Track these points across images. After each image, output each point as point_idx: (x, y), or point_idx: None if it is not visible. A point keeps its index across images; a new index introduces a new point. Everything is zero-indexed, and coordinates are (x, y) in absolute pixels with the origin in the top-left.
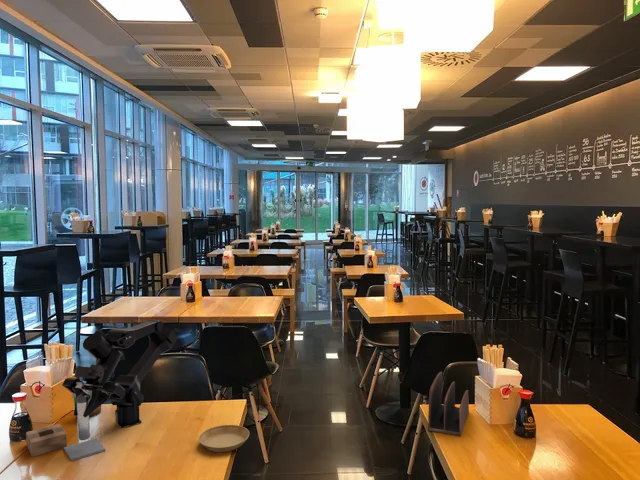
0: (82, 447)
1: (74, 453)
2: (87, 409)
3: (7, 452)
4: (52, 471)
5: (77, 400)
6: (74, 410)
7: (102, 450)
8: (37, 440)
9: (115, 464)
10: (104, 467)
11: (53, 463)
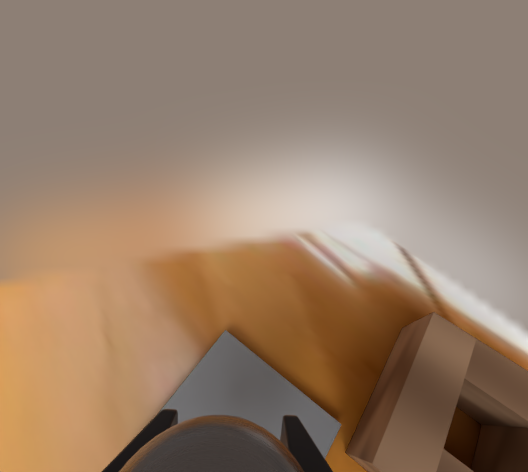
0: None
1: (244, 377)
2: (121, 462)
3: (522, 336)
4: (241, 258)
5: (243, 419)
6: (311, 445)
7: None
8: (434, 339)
9: (19, 349)
10: (61, 317)
11: (280, 302)
